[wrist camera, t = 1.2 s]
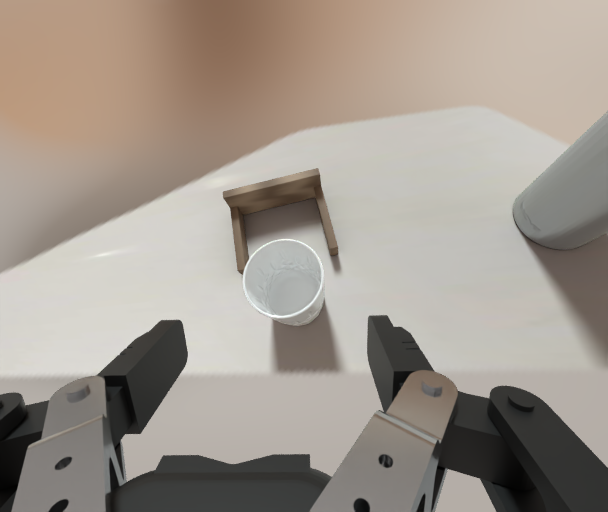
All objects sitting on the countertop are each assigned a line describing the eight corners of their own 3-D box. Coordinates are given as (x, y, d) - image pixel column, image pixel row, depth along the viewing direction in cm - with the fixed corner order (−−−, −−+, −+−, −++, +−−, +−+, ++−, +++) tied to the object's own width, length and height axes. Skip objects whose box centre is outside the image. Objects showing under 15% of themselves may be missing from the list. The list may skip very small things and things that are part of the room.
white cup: (290, 344, 34) (272, 336, 25) (255, 294, 37) (227, 271, 28) (341, 304, 35) (341, 282, 26) (303, 258, 38) (291, 224, 29)
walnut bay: (320, 190, 41) (318, 168, 37) (337, 254, 37) (337, 238, 33) (235, 210, 42) (222, 191, 37) (243, 276, 38) (230, 264, 33)
